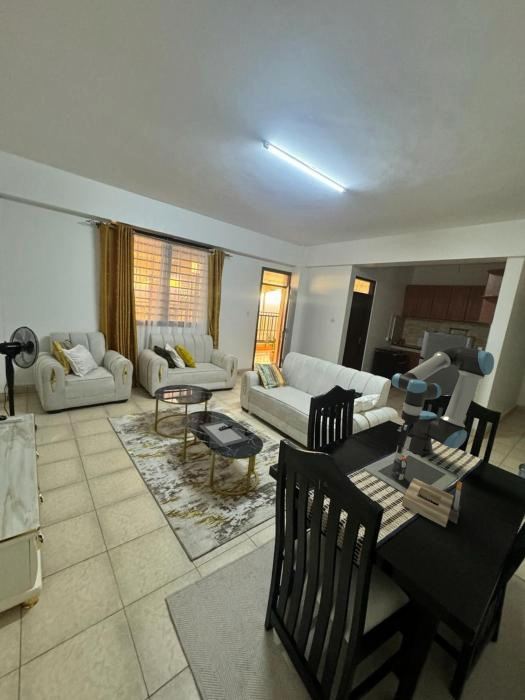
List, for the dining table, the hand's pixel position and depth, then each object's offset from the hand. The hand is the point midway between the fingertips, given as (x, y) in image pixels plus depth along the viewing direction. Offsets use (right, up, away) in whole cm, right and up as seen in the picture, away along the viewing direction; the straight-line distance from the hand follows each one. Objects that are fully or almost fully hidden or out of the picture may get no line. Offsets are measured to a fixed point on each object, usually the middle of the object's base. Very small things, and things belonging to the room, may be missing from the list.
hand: (402, 453), depth 135 cm
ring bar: (+11, -16, -22) cm, 29 cm away
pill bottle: (-1, -13, +3) cm, 13 cm away
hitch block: (+4, -17, -16) cm, 24 cm away
